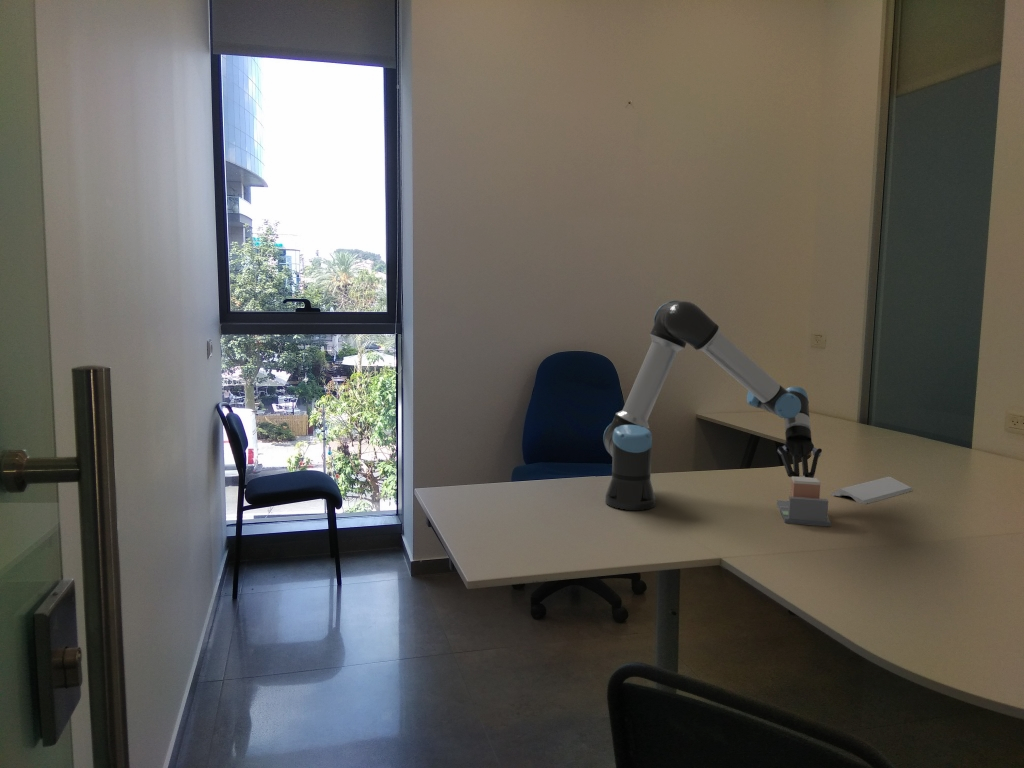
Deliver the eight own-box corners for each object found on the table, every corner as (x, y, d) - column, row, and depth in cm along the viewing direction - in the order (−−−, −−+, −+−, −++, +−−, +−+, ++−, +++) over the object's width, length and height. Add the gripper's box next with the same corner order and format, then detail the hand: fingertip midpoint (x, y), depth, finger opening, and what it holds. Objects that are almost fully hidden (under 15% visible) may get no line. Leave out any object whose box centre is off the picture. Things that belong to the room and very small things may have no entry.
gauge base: (785, 522, 204) (786, 498, 203) (776, 504, 222) (778, 481, 221) (830, 526, 201) (832, 501, 200) (818, 507, 219) (820, 484, 219)
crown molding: (865, 505, 223) (866, 494, 223) (828, 496, 233) (829, 485, 233) (912, 492, 240) (913, 481, 239) (876, 484, 250) (877, 474, 249)
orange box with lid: (792, 513, 208) (794, 480, 207) (789, 508, 213) (791, 476, 212) (818, 515, 206) (820, 482, 205) (815, 510, 211) (817, 478, 210)
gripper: (817, 438, 228) (824, 504, 214) (774, 436, 231) (778, 501, 217) (822, 425, 222) (828, 492, 208) (777, 422, 225) (781, 488, 211)
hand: (803, 496), depth 213 cm, fingers closed
